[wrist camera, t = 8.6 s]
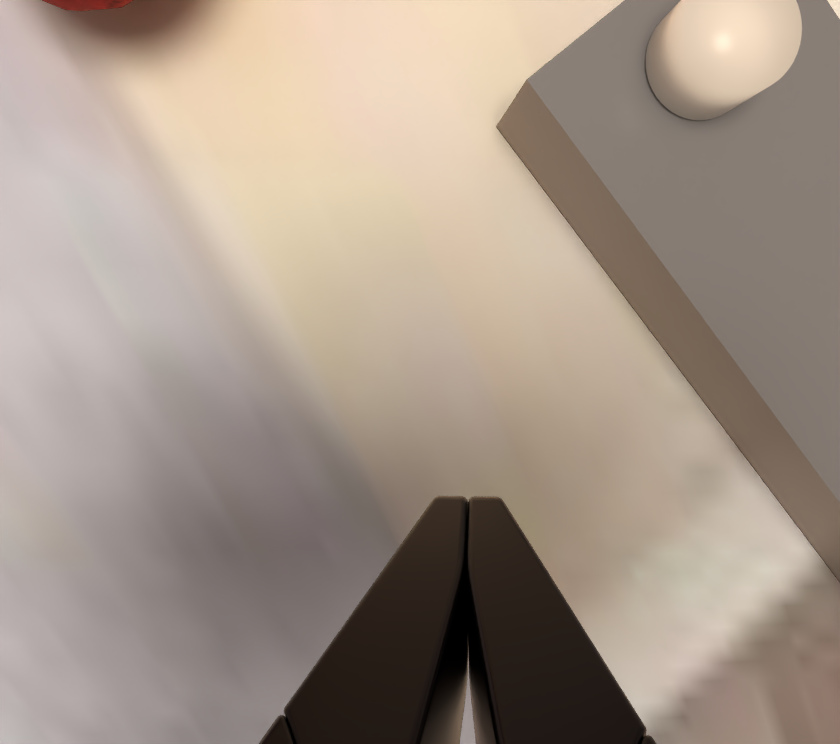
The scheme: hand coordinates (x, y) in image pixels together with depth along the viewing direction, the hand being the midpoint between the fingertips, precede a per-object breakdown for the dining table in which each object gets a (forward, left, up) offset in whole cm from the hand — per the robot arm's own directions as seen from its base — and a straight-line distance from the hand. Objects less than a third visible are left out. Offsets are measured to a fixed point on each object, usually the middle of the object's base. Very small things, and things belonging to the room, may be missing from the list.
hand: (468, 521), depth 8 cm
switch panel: (+3, -15, -12) cm, 19 cm away
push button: (+11, -6, -8) cm, 15 cm away
